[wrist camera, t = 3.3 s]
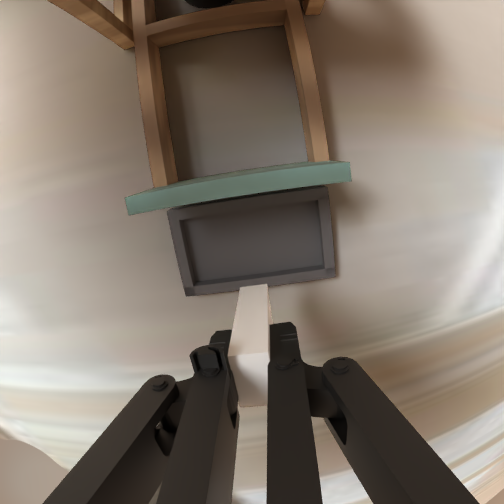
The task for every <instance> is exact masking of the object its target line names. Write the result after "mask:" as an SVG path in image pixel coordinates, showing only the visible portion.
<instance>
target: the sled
mask: <svg viewBox="0 0 504 504" xmlns="http://www.w3.org/2000/svg"><path fill="white" fill-rule="evenodd" d="M131 3H132V21H133V35H134V48H135V59H136V69H137V78H138V87H139V95H140V103H141V111H142V118H143V125H144V132H145V138H146V145H147V151H148V157H149V163H150V169H151V174H152V180H153V185H154V188H153V189H149V190H146V191H143V192H140V193H137V194H134V195H132V196H129V197H126V198H125V201H126V206H127V210H128V215H134V214H139V213H144V212H149V211H154V210H159V209H164V208H170V207H175V206H181V205H187V204H192V203H198V202H204V201H210V200H216V199H222V198H228V197H235V196H241V195H248V194H255V193H261V192H269V191H276V190H283V189H291V188H298V187H306V186H314V185H323V184H332V183H341V182H350V181H352V179H351V170H350V162H341V161H329V154H328V146H327V139H326V133H325V126H324V120H323V114H322V108H321V102H320V96H319V90H318V85H317V79H316V74H315V69H314V64H313V59H312V54H311V50H310V45H309V40H308V36H307V32H306V27H305V23H304V19H303V15H302V11H301V7H300V3H299V0H265V1H256V2H248V3H241V4H234V5H228V6H222V7H217V8H211V9H206V10H202V11H197V12H192V13H188V14H184V15H180V16H176V17H172V18H168V19H165V20H161V21H158V22H156V14H155V2H154V0H131ZM279 25H284V27H285V31H286V36H287V41H288V45H289V50H290V55H291V60H292V66H293V71H294V76H295V82H296V87H297V93H298V98H299V104H300V110H301V116H302V123H303V129H304V135H305V142H306V149H307V156H308V162H300V163H292V164H284V165H276V166H269V167H262V168H255V169H249V170H242V171H236V172H230V173H223V174H218V175H212V176H206V177H201V178H195V179H190V180H185V181H179V182H178V176H177V171H176V165H175V159H174V153H173V147H172V141H171V134H170V128H169V121H168V114H167V108H166V100H165V93H164V86H163V78H162V70H161V62H160V53H159V48H160V47H164V46H167V45H171V44H175V43H179V42H183V41H187V40H192V39H196V38H201V37H205V36H210V35H216V34H221V33H227V32H232V31H239V30H245V29H253V28H261V27H269V26H279Z"/></svg>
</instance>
